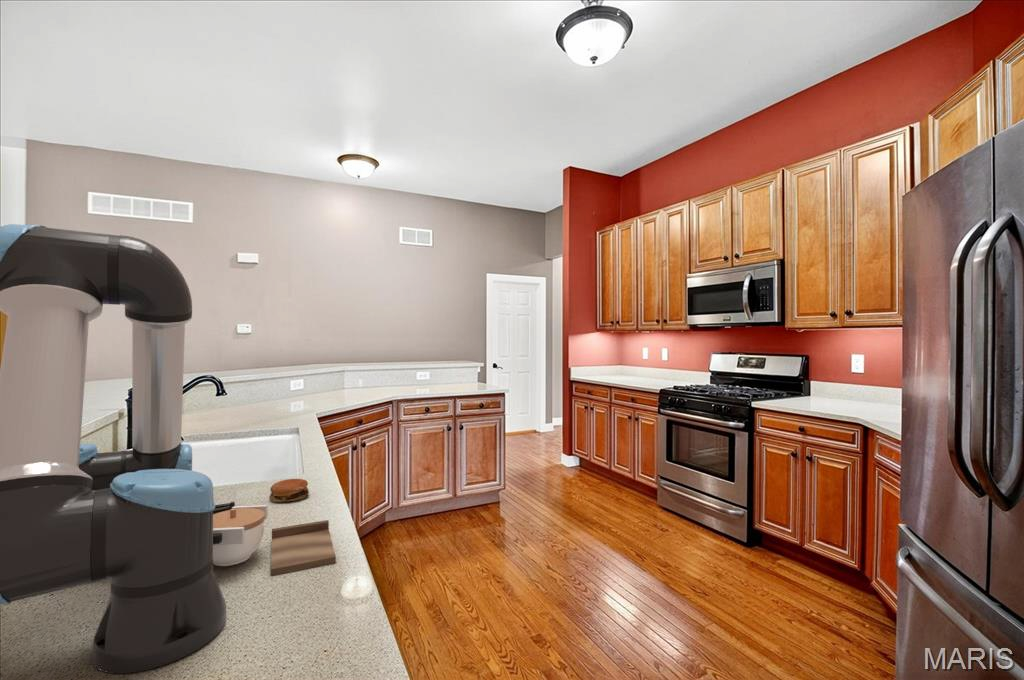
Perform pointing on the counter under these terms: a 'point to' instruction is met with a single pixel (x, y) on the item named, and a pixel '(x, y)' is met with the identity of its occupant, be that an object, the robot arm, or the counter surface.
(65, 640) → the counter surface
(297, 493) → the burger
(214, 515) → the lidded jar
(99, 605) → the counter surface
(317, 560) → the walnut board
